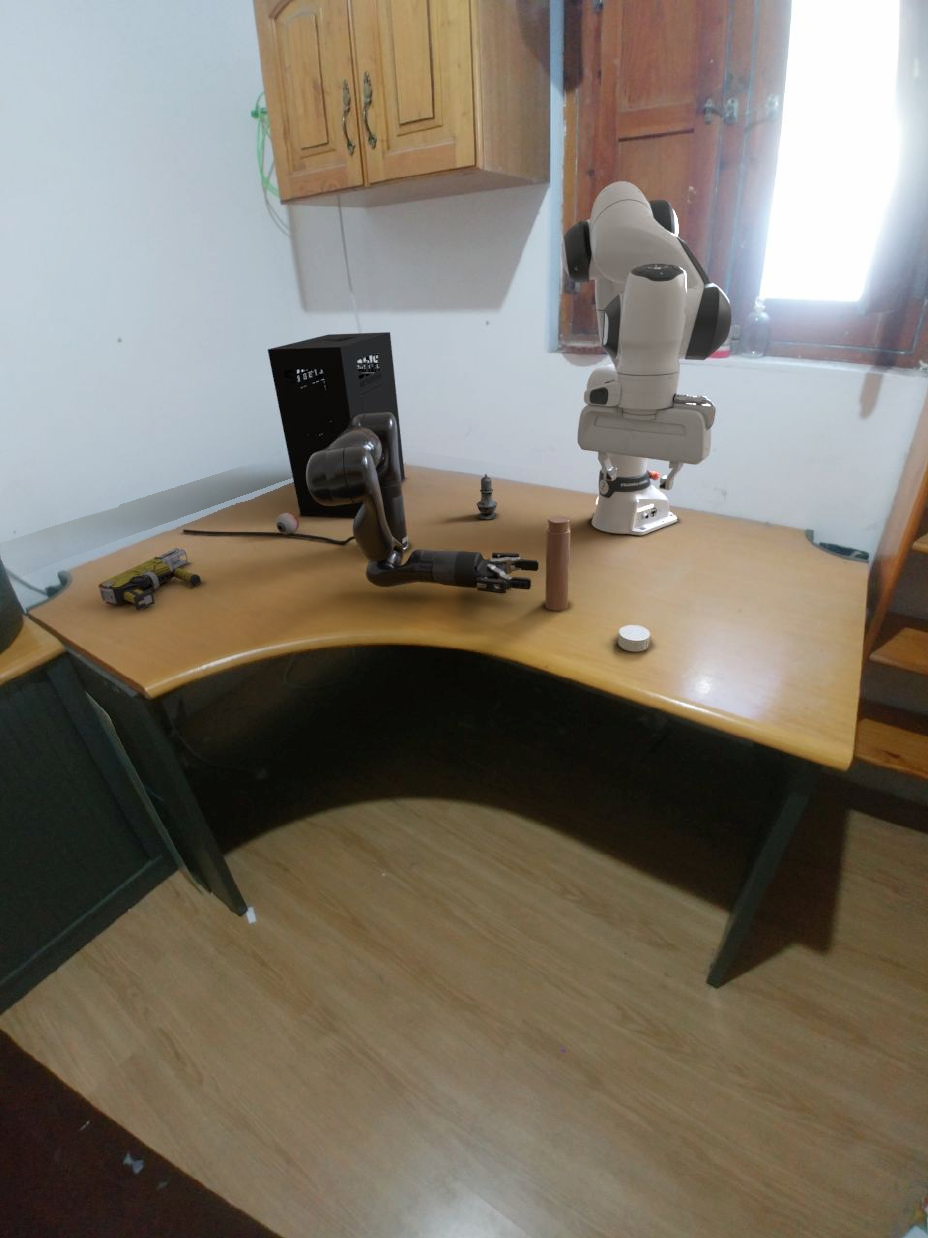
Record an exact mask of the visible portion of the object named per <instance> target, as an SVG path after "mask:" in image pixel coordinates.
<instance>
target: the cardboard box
mask: <svg viewBox="0 0 928 1238" xmlns="http://www.w3.org/2000/svg"><path fill="white" fill-rule="evenodd" d="M267 353H268V359H269V363H270V369H271V374H272V378H273V384H274V385H273V386H274V390H275V394H276V399H277V403H278V404H277V405H278V410H279V414H280V419H281V425H282V430H283V434H284V439H285V445H286V450H287V455H288V460H289V461H288V462H289V465H290V470H291V475H292V481H293V485H294V490H295V496H296V500H297V506H298V511H299V515H300V516H307V517H308V516H309V517H334V518H335V517H336V518H337V517H338V518H339V517H340V518H355V517H356V515H357V513H358V511H359V510H360V508H361V506H362V504H363V502H364V501H363V502H359V503H351V504H343V505H336V506H325V505H322V504H320V503H318V502H317V501H316V500H315V499H314V498H313V497H312V495H311V493H310V491H309V489H308V486H307V481H306V470H307V465H308V462H309V459H310V457H311V456H312V455H313V454H314V453H315V452H318V451H321V450H323V449H325V448H327V447H328V446H329V445H330V444H331V443H332V442H334V441H335V440H336V439H337V437H338V436H339V435H340V434H341V433H342V432H344V431H345V430H346V429H347V427H348V424H349V422H350V420H351V418H352V417H353V416H354V415H357V414H361V413H377V412H378V413H379V412H390V413H392V414H393V415H394V417H395V420H396V425H397V434H398V454H399V465H400V474H401V482H402V481H404V480H405V479H406V475H405V465H404V455H403V446H402V445H403V444H402V435H401V425H400V416H399V406H398V395H397V387H396V377H395V367H394V366H395V365H394V358H393V357H394V356H393V347H392V338H391V332H390V331H386V332H362V333H361V332H359V333H356V332H355V333H333V334H331V333H329V334H325V335H321V336H317V337H313V338H309V339H305V340H301V341H297V342H293V343H288V344H284V345H280V346H276V347H272V348H268V349H267ZM370 358H371V359H370ZM364 359H365V361H364ZM360 360H361V362H359V361H360ZM384 458H385V455H384V454H382V455H381V458H380V461H379V463H380V462H381V461H382V460H383V459H384Z"/></svg>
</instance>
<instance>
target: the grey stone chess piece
mask: <svg viewBox="0 0 928 1238" xmlns="http://www.w3.org/2000/svg"><path fill="white" fill-rule="evenodd" d="M479 492H480V496H481V497H480V501H478V502H476V507H477V510H478V511H479V512H480V513H479V514H478V515H477V517H478V518H479V519H481V520H492V519H495V518H496V517H497V513H495V511H496V510H497V506H498V501H496V500H494V499H493V492H494V489H493V487H492V478H491V477H489V476H488V474H487V473H485V474H484V476H483V477H482V478H481V479H480V490H479Z"/></svg>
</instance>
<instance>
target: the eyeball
mask: <svg viewBox="0 0 928 1238" xmlns="http://www.w3.org/2000/svg"><path fill="white" fill-rule="evenodd" d="M299 525H300V522H299V519H298V517H297V516H296V515H295V514H294V513H292V512H287V511H286V512H282V513H280V514H279V515H278V516H277V517H276V520H275V527H276V529H277V530H278V532H279V533H283V534H291V533H294V534H295V533H296V532H297V531H298V529H299Z"/></svg>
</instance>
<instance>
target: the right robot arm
mask: <svg viewBox="0 0 928 1238" xmlns="http://www.w3.org/2000/svg"><path fill="white" fill-rule="evenodd" d="M678 235H679V222H678V217H677V215H676V212H675V210H674V207H673V204H671V203H670V202H669V201H668V200H667V199H651V200H649V201H648V199H647V198H646V196H645V195H644V193H643V192H642V191H641V189H639V187H638V186H636V184H634V183H632V182H629V181H624V180H620V181H619V180H618V181H615V182H612V183H610V184H608V185H607V186H605V187H604V188H603V189H602V190H601V191H600V192H599V193H598V195H597V196H596V198H595V200H594V202H593V205H592V209H591V214H590V217H589V219H586V220H582V219H581V220H579V221H578V222H577V223H575V224H574V225H572V226H570V227H569V228H568V229H567V231H566V232H565V234H564V235H563V241H562V245H561V262H562V265H563V268H564V270H565V272H566V274H567V275H568V278H569V279H570V280H571V281H572V282H574V283H578V284H579V283H580V284H581V283H584V284H585V283H590V281H592V280H593V281H594V297H595V299H594V301H595V308H596V309H595V310H596V318H597V325H598V326H597V327H598V335H599V343H600V346H601V348H602V350H603V351H604V352H605V353H606V354H607V355H608V356H609V358H610V360H611V362H612V363H607V364H603V365H600V366H597V367H596V368H595V369H594V370H593V371H592V372H591V374H590V375H589V377H588V380H587V383H586V390H585V391H584V392H583V401H584V403H585V404H586V405H585V406H584V407H583V408H582V409H581V411H580V415H579V419H578V426H577V444H578V446H579V448H580V449H581V450H583V451H589V452H595V453H597V460H598V462H599V464H600V466H601V468H600V470H599V474H598V492H599V493H598V496H597V498H596V501H595V505H596V507H595V511H594V514H593V517H592V520H591V525H592V526H593V527H594V528H595V529H597V530H599V531H601V532H605V533H611V534H623V535H625V534H626V535H632V536H633V535H634V536H645V535H646V534H650V533H652V532H654V531H657V530H660V529H662V528H665V527H668V526H670V525H672V524H675V523H677V522H678V516H677V515H676V514H675V513H674V512H672V511H670V503H669V502H670V501H669V498H668V497H667V496H666V495H665V494H664V493H663V492H661V491H660V490H664V491H670V490H672V489H673V487H674V480H675V477H676V476H677V475H678V473H679V472H680V471H681V470H682V468H683V467H684V464H686V465H694V466H696V465H699V464H701V463H702V462H703V461H705V460H706V459H707V458H708V457H709V456H710V454H711V445H712V427H713V426H714V424H715V418H716V411H717V410H716V409H717V408H716V405H715V404H714V403H713V402H712V400H710V399H708V397H707V396H703V395H697V396H696V395H688V394H679V380H680V373H681V363H680V360H682V359H684V360H685V361H687V360H688V361H705V360H707V359H708V358H710V357H711V356H712V355H713V354H714V353H716V352H717V351H718V350H719V349H720V348H721V347H722V346H723V345H724V344H725V343H726V341H727V340H728V337H729V334H730V331H731V325H732V307H731V303H730V300H729V298H728V297H727V295H726V294H725V293H724V291H723V290H722V289H721V287H719V286H718V285H717V284H715V283H713V282H712V281H711V279H710V278H709V276H708V274H707V273H706V271H705V270H704V268H703V267H702V265H701V263H700V261H699V260H698V259H697V257H696V255H695V253H694V252H693V251H692V249H691V248H690V247H689V245H688V244H687V242H685V240H683V238H680V237H679V236H678ZM648 460H657V461H663V462H668V468H669V469H670V471H669V473H668V474H667V475H663V476H661V477H660V473H659V472H657V471H654V470H651V471H649V470H648V469H647V466H648ZM658 479H659V483H660V484H659V489H660V490H659V489H658V488H656V487H655V486H654V485H652V483H651V480H653V481H658Z"/></svg>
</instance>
